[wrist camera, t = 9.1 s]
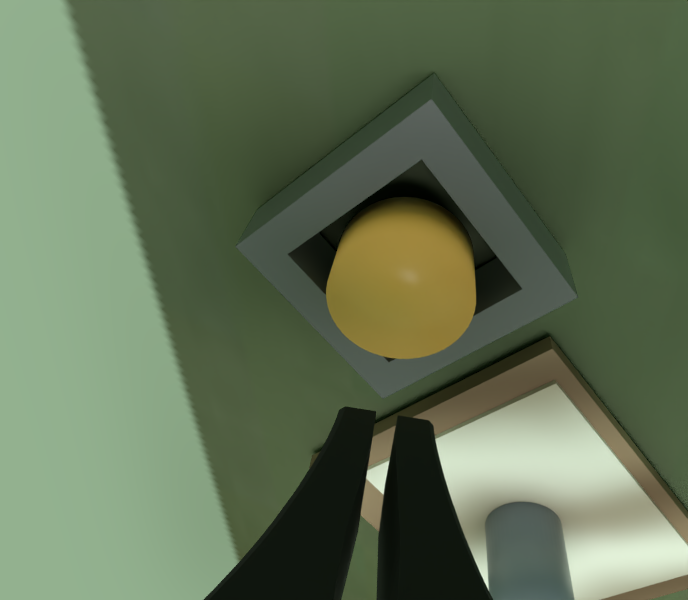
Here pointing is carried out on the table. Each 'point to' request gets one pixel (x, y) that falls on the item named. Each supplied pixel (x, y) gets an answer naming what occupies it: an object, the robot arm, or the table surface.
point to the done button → (403, 279)
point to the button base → (467, 192)
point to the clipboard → (549, 473)
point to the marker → (526, 554)
